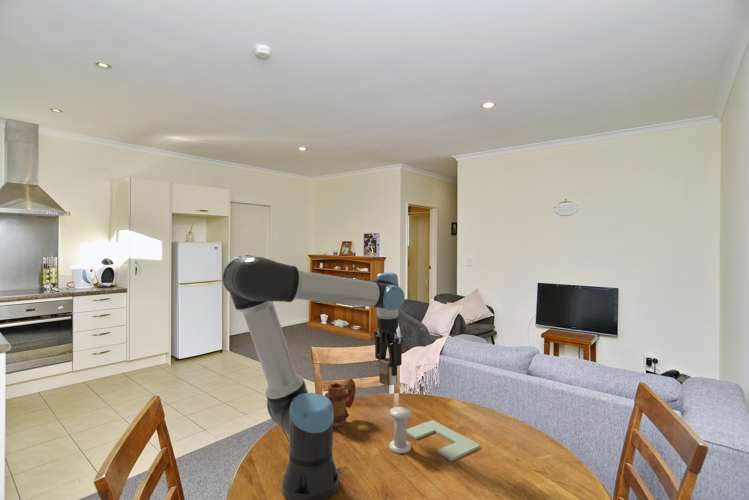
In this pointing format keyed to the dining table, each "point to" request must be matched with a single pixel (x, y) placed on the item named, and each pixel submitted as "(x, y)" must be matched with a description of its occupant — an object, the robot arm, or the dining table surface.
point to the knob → (400, 430)
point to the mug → (341, 399)
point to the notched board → (453, 450)
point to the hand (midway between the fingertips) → (388, 381)
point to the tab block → (384, 371)
